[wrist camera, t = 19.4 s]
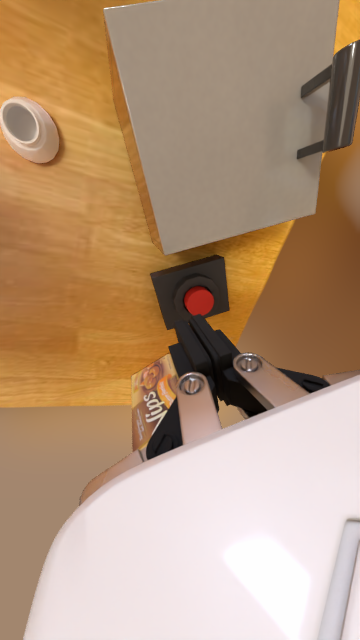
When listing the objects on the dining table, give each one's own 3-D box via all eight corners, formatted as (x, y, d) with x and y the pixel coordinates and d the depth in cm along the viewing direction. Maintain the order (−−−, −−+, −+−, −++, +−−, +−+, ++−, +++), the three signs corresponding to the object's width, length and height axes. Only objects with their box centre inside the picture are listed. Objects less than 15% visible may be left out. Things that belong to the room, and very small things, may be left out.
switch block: (164, 322, 35) (169, 336, 31) (149, 273, 30) (153, 281, 26) (222, 304, 36) (234, 315, 32) (216, 254, 31) (229, 259, 28)
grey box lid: (332, -15, 14) (433, -129, 10) (309, 213, 22) (360, 213, 17) (103, 18, 13) (90, -99, 8) (163, 254, 20) (175, 266, 15)
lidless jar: (70, 150, 22) (35, 90, 20) (63, 142, 20) (21, 71, 17) (31, 172, 22) (-9, 115, 20) (19, 166, 20) (-29, 100, 17)
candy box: (142, 387, 40) (150, 470, 27) (129, 375, 38) (131, 459, 25) (179, 364, 40) (205, 438, 27) (168, 351, 38) (190, 423, 25)
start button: (186, 314, 30) (190, 319, 29) (181, 290, 28) (184, 294, 27) (211, 306, 31) (215, 311, 29) (207, 282, 29) (212, 286, 27)
